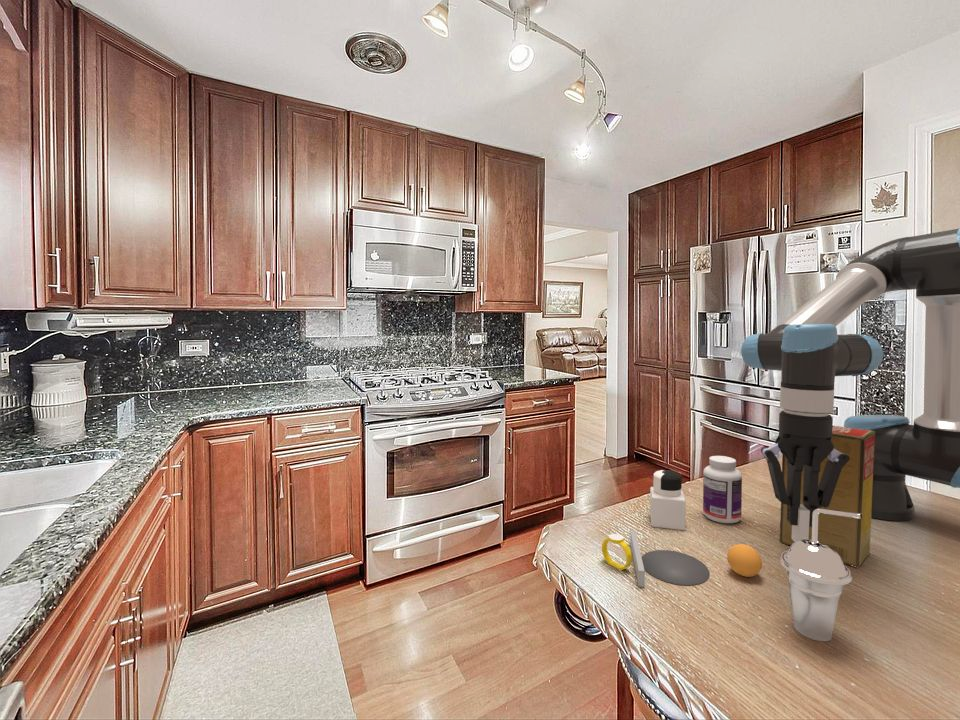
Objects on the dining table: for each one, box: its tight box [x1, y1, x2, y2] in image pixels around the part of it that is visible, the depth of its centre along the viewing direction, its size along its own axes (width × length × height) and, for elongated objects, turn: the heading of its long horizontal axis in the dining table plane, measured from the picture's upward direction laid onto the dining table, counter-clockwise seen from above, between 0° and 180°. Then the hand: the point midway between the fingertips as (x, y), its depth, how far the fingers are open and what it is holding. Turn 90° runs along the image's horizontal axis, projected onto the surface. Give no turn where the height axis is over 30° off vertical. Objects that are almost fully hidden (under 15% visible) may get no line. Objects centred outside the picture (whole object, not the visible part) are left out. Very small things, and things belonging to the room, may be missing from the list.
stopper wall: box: [629, 528, 646, 588], centre depth 85 cm, size 1×16×3 cm, turn 166°
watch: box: [601, 533, 633, 571], centre depth 84 cm, size 6×3×6 cm, turn 37°
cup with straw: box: [779, 508, 862, 642], centre depth 64 cm, size 8×9×20 cm
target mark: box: [641, 549, 710, 587], centre depth 83 cm, size 12×12×1 cm
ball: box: [726, 543, 763, 578], centre depth 80 cm, size 6×6×6 cm
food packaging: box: [779, 425, 875, 568], centre depth 88 cm, size 13×9×25 cm
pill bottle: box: [702, 455, 743, 524], centre depth 103 cm, size 8×8×14 cm
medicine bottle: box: [649, 469, 687, 531], centre depth 101 cm, size 7×7×12 cm
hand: (799, 542), depth 77 cm, fingers closed
